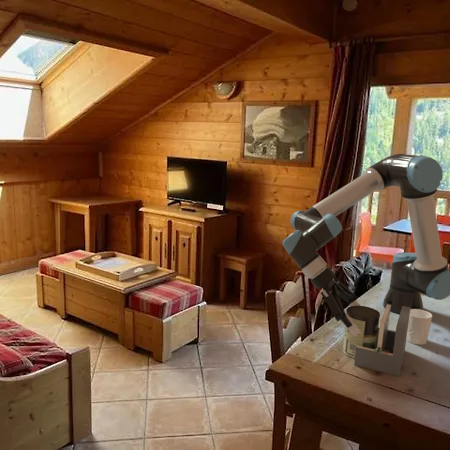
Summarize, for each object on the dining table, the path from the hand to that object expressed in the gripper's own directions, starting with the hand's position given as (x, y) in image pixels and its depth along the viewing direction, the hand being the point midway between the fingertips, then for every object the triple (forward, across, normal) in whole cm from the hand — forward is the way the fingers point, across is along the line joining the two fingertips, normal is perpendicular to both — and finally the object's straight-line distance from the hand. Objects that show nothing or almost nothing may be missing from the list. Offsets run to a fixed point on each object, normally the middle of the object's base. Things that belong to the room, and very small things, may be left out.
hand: (361, 326), depth 145 cm
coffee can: (+7, 0, -7) cm, 9 cm away
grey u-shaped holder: (+11, 0, -2) cm, 11 cm away
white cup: (+18, -19, +5) cm, 27 cm away
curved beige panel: (+11, +1, -1) cm, 11 cm away
